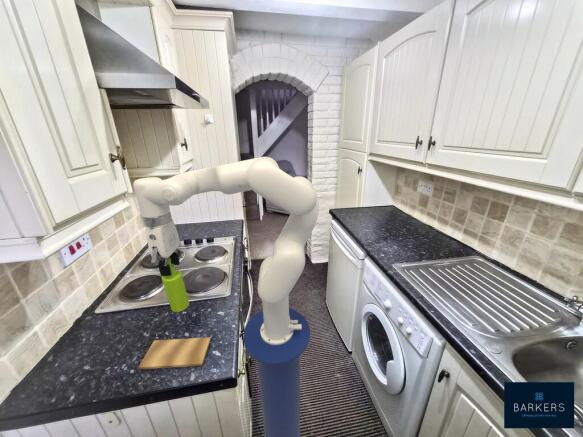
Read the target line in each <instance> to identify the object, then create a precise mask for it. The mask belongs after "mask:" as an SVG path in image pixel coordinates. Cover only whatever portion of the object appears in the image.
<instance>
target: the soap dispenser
mask: <svg viewBox="0 0 583 437" xmlns="http://www.w3.org/2000/svg"><path fill="white" fill-rule="evenodd" d="M162 261H164V259H163V258H162ZM167 262H168V264H169V265H170V269H171V273H172V275H171V276H161V281H162V285H163V287H164V291H165V295H166V297H167V300H168V303H169V307H170V309H171V311H172V312H174V313H180V312H183V311H185V310H186V309H188V307H189V306H190V300H189V297H188V292H187V289H186V285H185V282H184V281H185V280H184V277H183V273H182V271H181V270H178V269H177V268H176V265H174V264H171V259H170V256H169V257H168V258H167Z"/></svg>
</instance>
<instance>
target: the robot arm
mask: <svg viewBox="0 0 583 437" xmlns="http://www.w3.org/2000/svg"><path fill="white" fill-rule="evenodd" d="M132 186H133V189H134V193H135V194H134V195H135V198H136V202H137V204H138V208H139V211H140V212H139V213H140V215H141V218H142V223H143V225H144V227H145V235H146V241H147V246H148V250H149V254H150V256H151V261H150V263H151V265H154V266H156V267H157V268H158V271H159V274H160V276H161V277H162V276H171V275H172V273H171V269H170V265H169V264H168V262H167V258H168V257H169V256H170V259H171V264H174V265H175V266H180V264H181V262H180V257H179V254H178V253H179V250H178V248H179V246H180V245H181V241H180V240H181V239H180V236H179V233H178V229H177V227H176V223H175V222H174V219H173V217H172V212H171V208H170V206H171V207H172V206H173V207H175V206H180V205H182V204H183V203H185V202H186V201H188V200H189V199H190V198H191V197H193V196H195V195H199V194H204V193H210V192H221V193H223V194H224V195H227V196H228V195H233V194H238V193H243V192H244V193H245V192H249V191H253V192H254V193H255V194H257V195H259V196H260V197H262V198H263V199H265V200H267V201H268V202H270V203H272V204H274V205H275V206H277V207H279V208H280V209H282V210H285V211H286V212H288V213H290V214H289V217H288V219H287V220H286V223H285V225H284V226H283V227H282V230H281V232H280V233H279V235H278V237H277V238H276V240H275V242H274V244H273V250H272V251H273V252H272V255H270V256H267V257H265V258H264V259H263V261H262V263H261V265H260V268H259V272H258V273H259V275H258V281H257V295H258V297H259V299H260V300H261V302H262V303H261V304H262V305H261V306H262V311H263V318H264V323H263V324H262V326H261V329H260V333H261V337H262V339H263V340H264V341H265V342H266V343H268V344H270V345H281V344H284V343H286V342H287V341H289V340H290V339H291V337H292V335H293V331H294V330H302V326H301V324H298V320H290V316H289V308H290V293H291V291H292V290H293V288H294V287H295V285H296V284H297V282H298V280H299V278H300V277H301V275H302V274H303V272H304V269H305V266H306V254H305V246H306V243H307V242H308V240H309V238H310V237H311V234H312V232H313V231H314V228H315V226H316V225H317V221H318V218H319V213H320V210H319V209H320V206H319V205H320V204H319V203H320V202H319V197H318V194H317V190H316V189H315V188H314V185H313V184H312V183H311V181H310V180H309V179H308V178H306V177H304V176H300V175H299V176H294V177H293V176H292V175H290V174H288V173H286V172H285V171H284V170H282V169H281V168H280V167H279V164H278V163H277V161H276V160H275V159H274V158H272V157H269V156H259V157H254V158H249V159H245V160H241V161H235V162H230V163H225V164H220V165H215V166H211V167H204V168H199V169H193V170H189V171H185V172H181V173H177V174H175V175H173V176H171V177H168V178H166V179H162V178H160V177H157V176H147V177H142V178H137V179H136V180H134V181H133V184H132ZM161 259H162V260H161ZM163 259H164V260H163ZM293 324H297V325H293Z"/></svg>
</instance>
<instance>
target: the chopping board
mask: <svg viewBox="0 0 583 437" xmlns="http://www.w3.org/2000/svg"><path fill="white" fill-rule="evenodd" d="M211 340H212V337H210V336H208V337H190V338H174V339H155V340H153V342H152V343H151V345H150V347H148V348H149V349H148V350H147V352H146V353H145V355H144V357H143V359H142V360H141V362H140V363H139V366H138V370H154V369H169V368H186V367H187V368H189V367H202V366H203V365H204V362H205V359H206V356H207V352H208V350H209V346H210V343H211Z"/></svg>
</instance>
